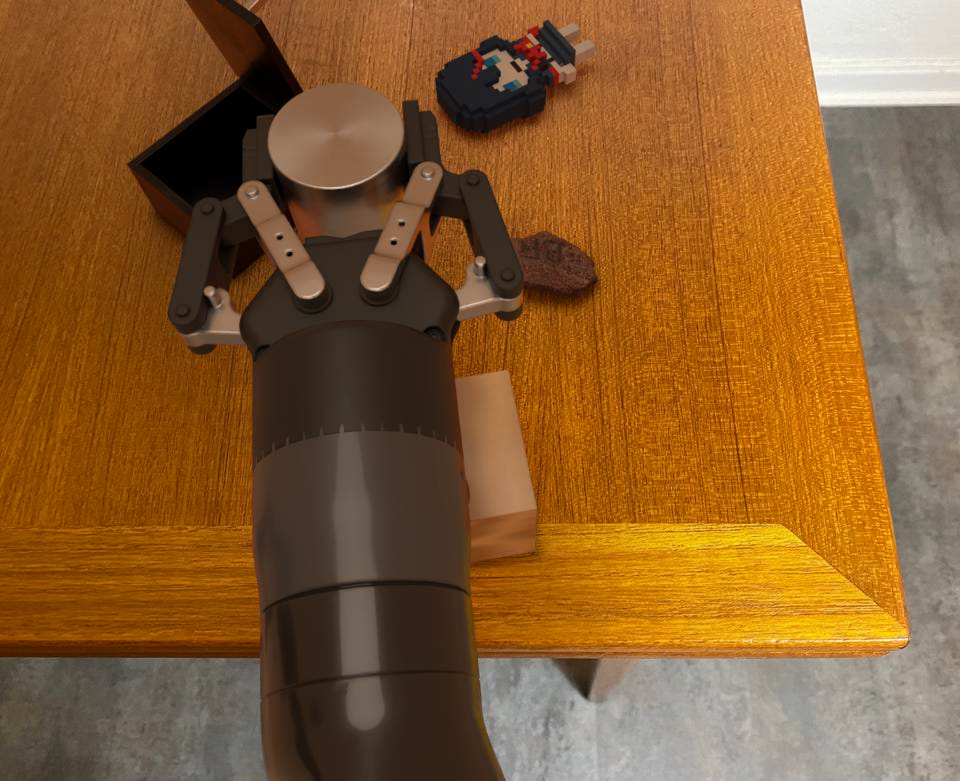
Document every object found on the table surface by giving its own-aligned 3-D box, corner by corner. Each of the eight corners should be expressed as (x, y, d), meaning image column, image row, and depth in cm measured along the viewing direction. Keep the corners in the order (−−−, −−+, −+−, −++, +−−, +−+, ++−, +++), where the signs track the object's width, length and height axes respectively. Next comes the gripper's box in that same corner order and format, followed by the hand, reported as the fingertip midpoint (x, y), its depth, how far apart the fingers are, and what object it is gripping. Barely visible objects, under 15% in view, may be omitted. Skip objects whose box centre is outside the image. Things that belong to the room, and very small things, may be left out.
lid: (253, 26, 60) (303, -25, 61) (156, -42, 63) (204, -89, 64) (320, 137, 73) (360, 94, 73) (236, 75, 76) (275, 35, 77)
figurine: (612, 52, 79) (469, 122, 77) (608, 87, 83) (472, 155, 80) (559, -5, 83) (420, 59, 80) (557, 31, 87) (424, 94, 84)
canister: (328, 345, 45) (271, 198, 34) (319, 256, 48) (262, 93, 37) (436, 328, 46) (413, 177, 35) (421, 239, 48) (395, 73, 37)
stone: (504, 246, 76) (504, 224, 73) (588, 237, 76) (591, 215, 73) (513, 312, 73) (513, 292, 70) (600, 303, 73) (604, 283, 70)
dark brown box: (233, 279, 75) (208, 232, 69) (156, 214, 79) (126, 163, 73) (339, 189, 79) (324, 137, 73) (261, 131, 83) (241, 76, 76)
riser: (399, 575, 64) (380, 536, 55) (382, 449, 68) (362, 394, 59) (534, 551, 64) (537, 508, 55) (509, 427, 69) (508, 369, 60)
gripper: (566, 415, 28) (502, 35, 35) (116, 467, 28) (145, 73, 35) (555, 492, 35) (503, 159, 42) (193, 534, 35) (204, 192, 42)
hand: (340, 122), depth 39 cm, fingers closed on canister, 5 cm apart
